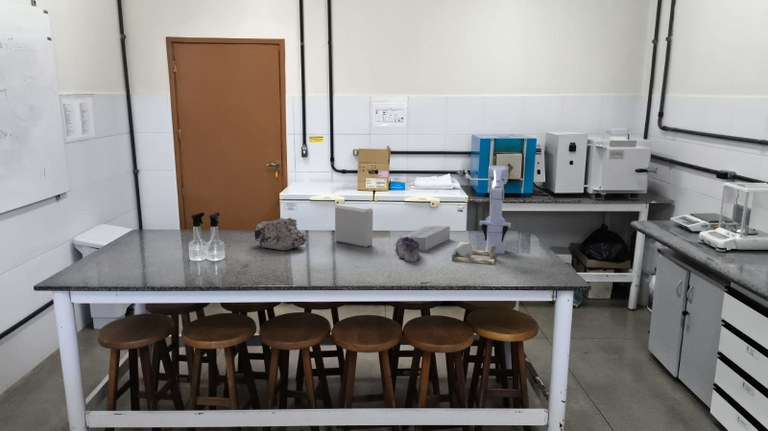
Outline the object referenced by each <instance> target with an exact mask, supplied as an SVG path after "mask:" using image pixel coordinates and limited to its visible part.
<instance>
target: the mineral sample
mask: <svg viewBox="0 0 768 431" xmlns="http://www.w3.org/2000/svg"><path fill="white" fill-rule="evenodd" d="M297 225H298V223H297V219H294V218H292V217H290V218H289V217H288V218H283V217H280V218H277V219H271V220H269V221H261V222H260V223H257V225H256V227H255V229H254V239H255V241H256V242H258V244H259V245H260V247H261V248H263V249H273V250H278V251H287V250H288V251H289V250H293V249H295V248H297V247H302V246H304V245H305V244H306V242H307V235H306V234H305V233H304V232H302V231H301V230H299V229H298V227H297Z"/></svg>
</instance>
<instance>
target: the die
mask: <svg viewBox="0 0 768 431" xmlns="http://www.w3.org/2000/svg"><path fill="white" fill-rule="evenodd" d="M456 246H457V247H456ZM456 246H455V248H454V250H455V251H456V254H457V256H456V257H465V258H472V255H474V254H473V253H474V252H473V250H474V249H473V246H472V243H471V242H468V241H467V242H466V241H459V243H458V244H457V245H456Z"/></svg>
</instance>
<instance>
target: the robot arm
mask: <svg viewBox="0 0 768 431" xmlns="http://www.w3.org/2000/svg"><path fill="white" fill-rule="evenodd" d="M508 179H509V166H508V165H491V164H490V165H489V167H488V183H489V184H491V187H490V190H489V215H488V216H487V217H486V218H485V220H479V226H481V230H482V232H483V235H484V236H483V237H484V241H486V247H485V250H484V251H490V245H496V246H497V250H496V254H501V255H505V251H506V237H507V236H506V234H507V231H508V230H509V228H511V227H512V226H511V225H512V223H511V222H507V221H506V219H505V218H504V217H503V216H502V215H503V204H504V202H503V201H504V199H505V198H504V197H505V189H504V187H505V186H504V185H506V184H507V182H508Z"/></svg>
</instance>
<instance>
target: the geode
mask: <svg viewBox="0 0 768 431" xmlns="http://www.w3.org/2000/svg"><path fill="white" fill-rule="evenodd" d="M394 250H395V251H394V252H396V254H397V255H398V257H399V259H403V260H404V262H407V263H416V262H418V261H419V260H420V256H419V255H420V253H419V252H420V250H419V242H418V241H415V240H413V239H412V238H409V237H404V238H403V239H400V238H398V239H397V240H396V243H395V248H394Z"/></svg>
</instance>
